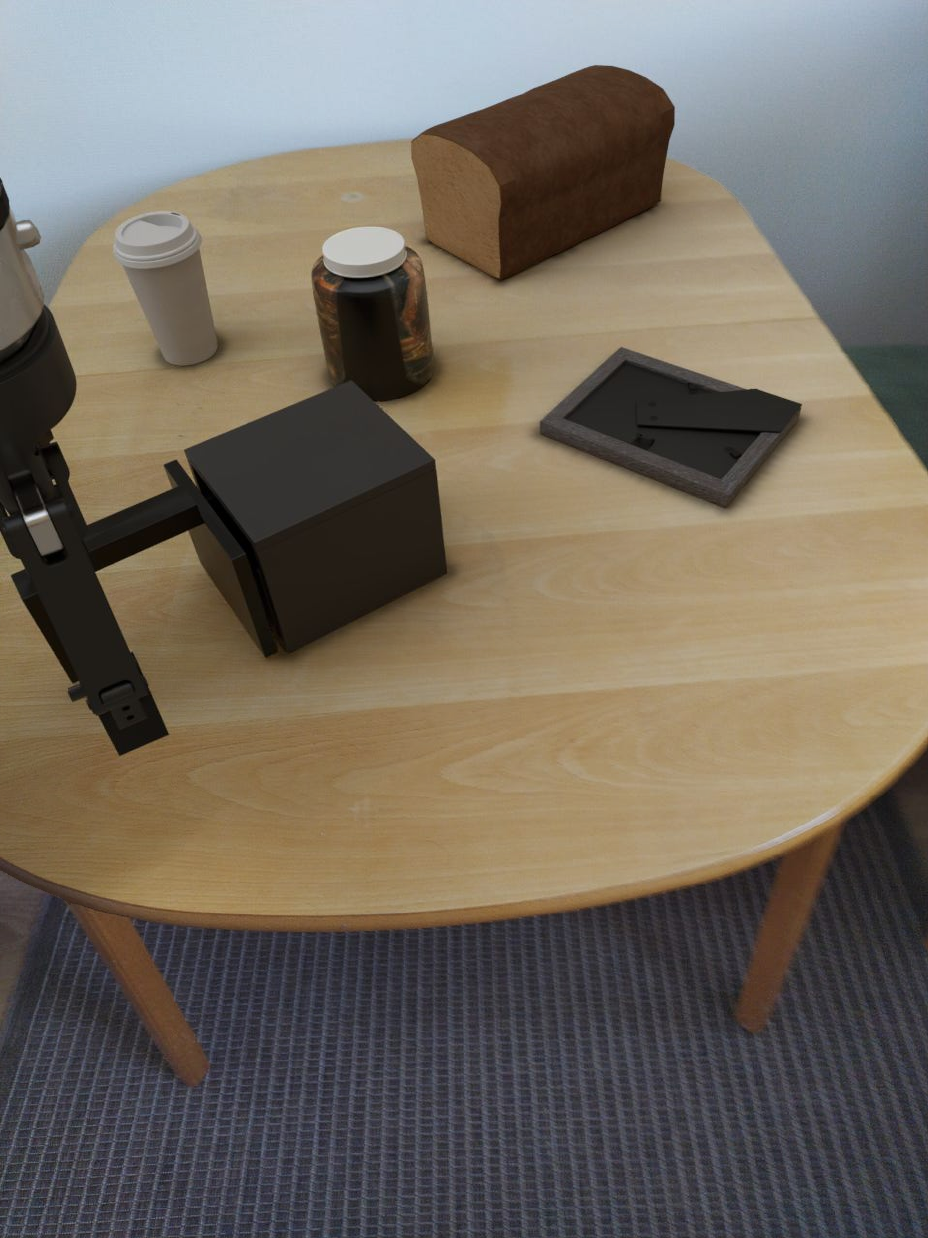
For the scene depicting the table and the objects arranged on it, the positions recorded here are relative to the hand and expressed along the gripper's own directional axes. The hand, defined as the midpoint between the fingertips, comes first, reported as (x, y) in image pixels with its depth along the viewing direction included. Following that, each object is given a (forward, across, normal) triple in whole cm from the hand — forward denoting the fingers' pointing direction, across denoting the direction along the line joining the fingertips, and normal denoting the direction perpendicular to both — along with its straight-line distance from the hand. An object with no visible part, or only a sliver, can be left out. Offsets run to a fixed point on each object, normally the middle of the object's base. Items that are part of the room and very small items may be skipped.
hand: (105, 651), depth 54 cm
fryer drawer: (+21, +18, -11) cm, 29 cm away
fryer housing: (+21, +18, -20) cm, 34 cm away
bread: (+23, +62, -72) cm, 98 cm away
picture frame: (+20, +17, -58) cm, 64 cm away
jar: (+22, +44, -38) cm, 62 cm away
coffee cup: (+24, +61, -21) cm, 69 cm away
